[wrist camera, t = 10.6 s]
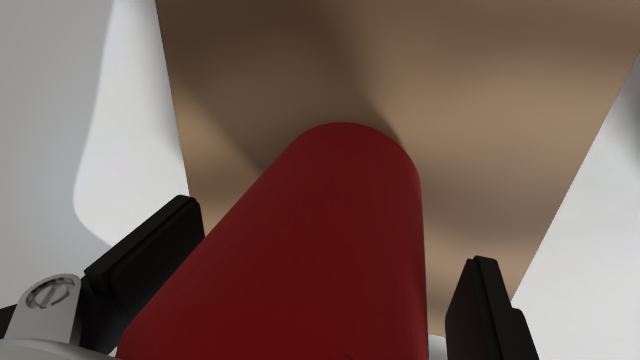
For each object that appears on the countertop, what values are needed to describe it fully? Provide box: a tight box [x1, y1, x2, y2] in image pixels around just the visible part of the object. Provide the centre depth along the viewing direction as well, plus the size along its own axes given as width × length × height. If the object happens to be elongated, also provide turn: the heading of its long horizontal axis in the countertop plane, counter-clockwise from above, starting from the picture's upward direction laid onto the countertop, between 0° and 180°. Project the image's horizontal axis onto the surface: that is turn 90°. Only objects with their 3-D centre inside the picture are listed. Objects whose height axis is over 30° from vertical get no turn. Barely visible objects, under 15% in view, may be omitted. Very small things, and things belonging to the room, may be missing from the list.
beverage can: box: [115, 122, 429, 360], centre depth 10 cm, size 7×7×12 cm
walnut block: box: [155, 0, 640, 338], centre depth 18 cm, size 18×18×7 cm
